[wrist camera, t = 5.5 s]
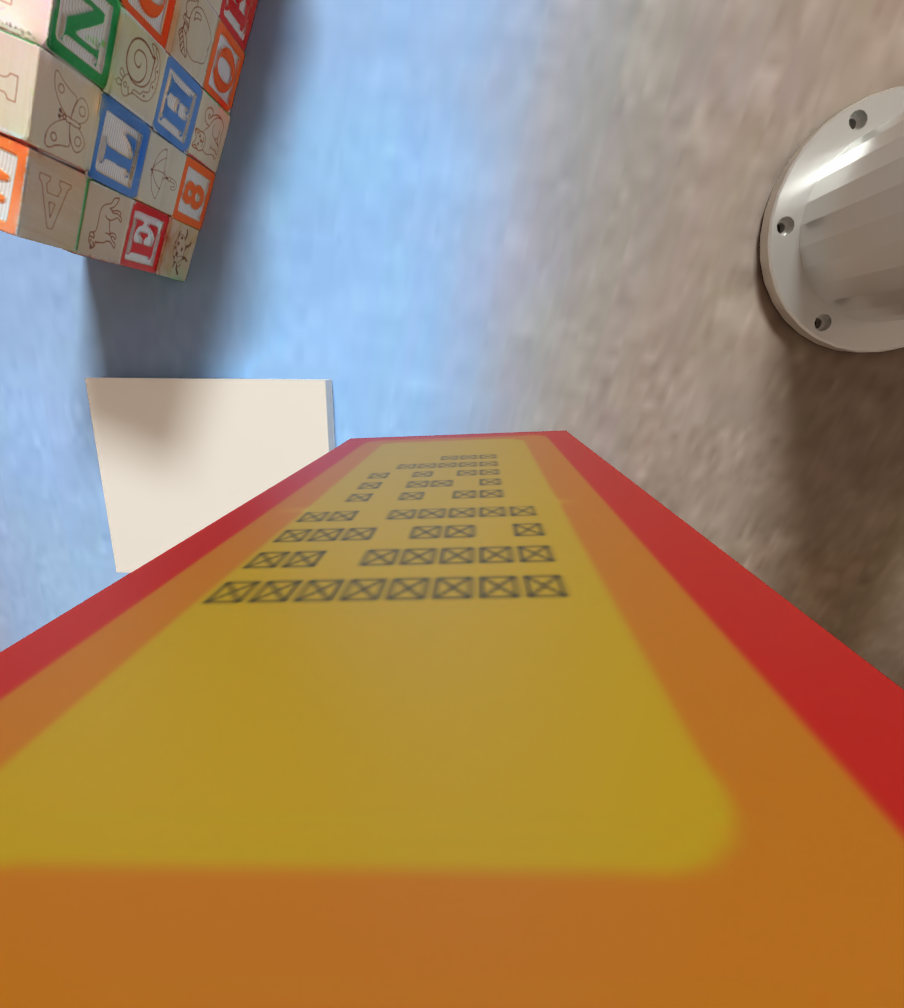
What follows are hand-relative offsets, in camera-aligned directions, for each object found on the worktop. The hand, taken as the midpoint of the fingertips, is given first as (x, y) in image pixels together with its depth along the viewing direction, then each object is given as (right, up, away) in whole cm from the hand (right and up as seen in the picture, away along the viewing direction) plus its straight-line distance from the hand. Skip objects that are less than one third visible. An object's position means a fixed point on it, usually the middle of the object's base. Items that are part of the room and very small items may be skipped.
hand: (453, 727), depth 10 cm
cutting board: (-14, +6, +23) cm, 28 cm away
